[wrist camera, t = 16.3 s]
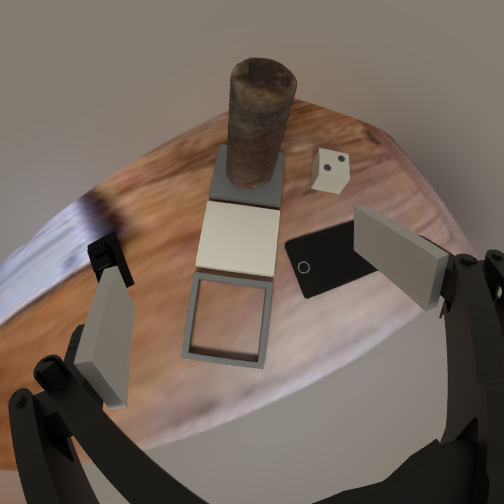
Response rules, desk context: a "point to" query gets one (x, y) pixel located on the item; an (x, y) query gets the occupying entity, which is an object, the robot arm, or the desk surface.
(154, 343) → the desk surface
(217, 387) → the desk surface
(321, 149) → the die
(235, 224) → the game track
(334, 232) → the cell phone
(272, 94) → the candle
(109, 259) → the black chunky piece
